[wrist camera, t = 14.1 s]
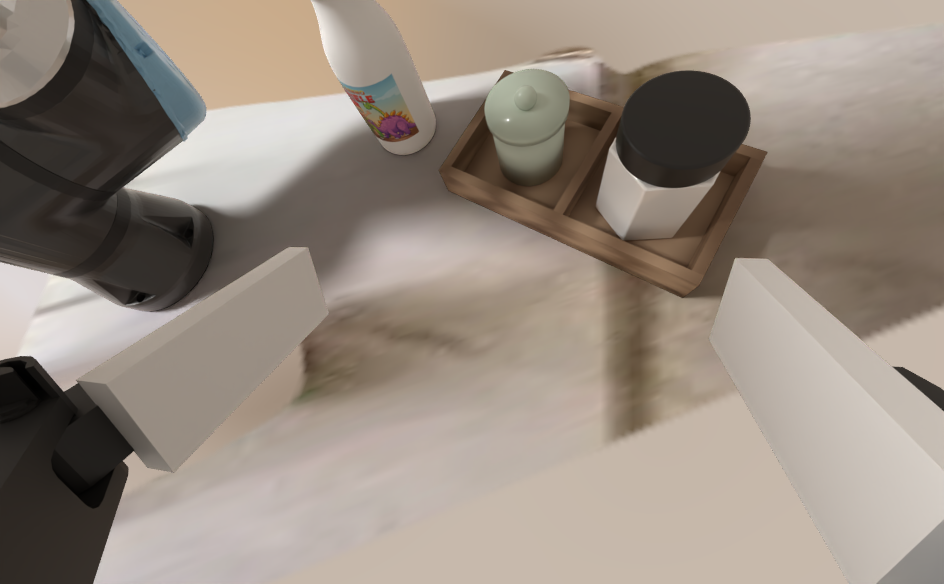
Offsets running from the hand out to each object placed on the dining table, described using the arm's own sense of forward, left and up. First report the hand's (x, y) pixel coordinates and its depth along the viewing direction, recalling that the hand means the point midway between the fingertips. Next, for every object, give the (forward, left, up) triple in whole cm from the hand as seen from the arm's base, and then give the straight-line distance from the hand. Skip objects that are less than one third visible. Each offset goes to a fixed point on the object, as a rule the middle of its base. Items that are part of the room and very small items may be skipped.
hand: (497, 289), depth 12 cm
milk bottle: (-27, +17, -25) cm, 41 cm away
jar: (+2, +19, -24) cm, 31 cm away
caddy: (-4, +19, -25) cm, 32 cm away
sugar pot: (-11, +19, -24) cm, 33 cm away
